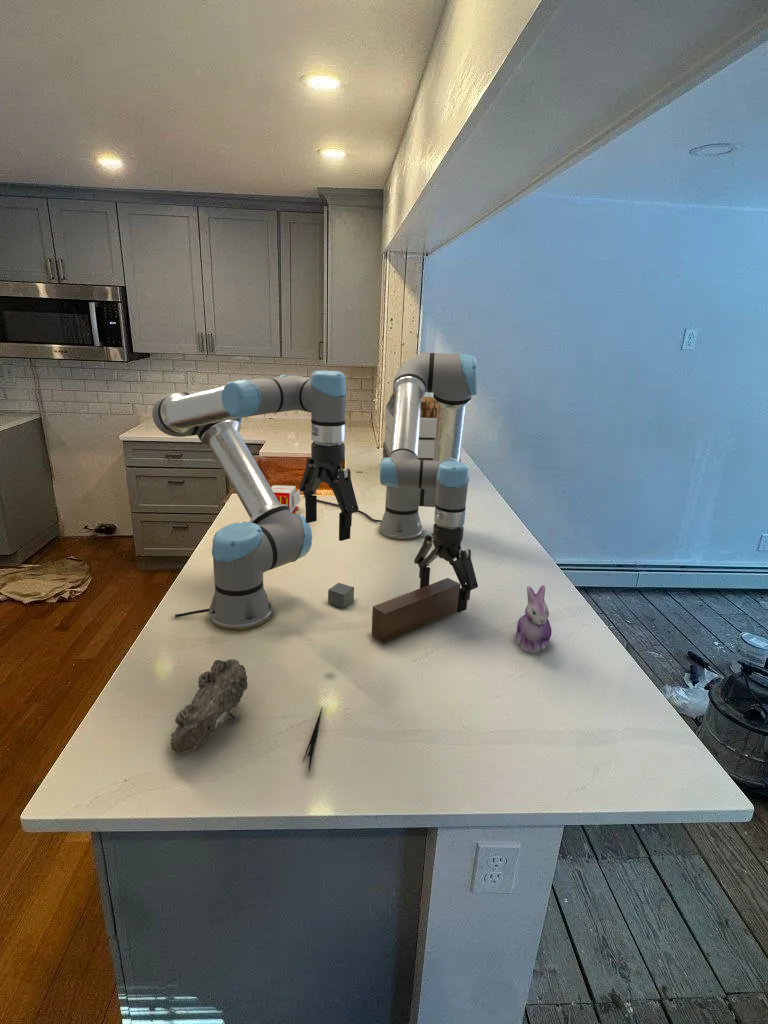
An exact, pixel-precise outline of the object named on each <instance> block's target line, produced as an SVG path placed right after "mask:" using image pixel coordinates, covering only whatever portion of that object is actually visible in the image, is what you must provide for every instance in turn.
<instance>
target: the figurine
mask: <svg viewBox="0 0 768 1024" xmlns="http://www.w3.org/2000/svg"><path fill="white" fill-rule="evenodd" d="M526 594H527V604H526V606H525V610H524V614H523V615H522V616H521V617H520V618H518V621H517V623H516V624H517V625H516V632H515V634H516V635H515V641H516V643H517V645H519V646H520V648H521V650H522V651H524V652H526V653H531V654H533V653H534V654H537V653H539V652H540V651H545V650H546V649H547V648H548V646H549V644H550V639H551V637H552V626H551V623H550V620H549V617H550V611H549V607H548V605H547V603H546V600H545V597H546V596H545V595H546V586H545V585H544V584H542V585H540V586H539V588H538V591H537V592H536V593H535V591H534V589H533V588H532V587H531V586H530V585H528V586H527V587H526Z"/></svg>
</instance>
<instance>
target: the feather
mask: <svg viewBox="0 0 768 1024" xmlns="http://www.w3.org/2000/svg"><path fill="white" fill-rule="evenodd" d="M329 675H330V676H331V675H332V674H331V673H330V674H329ZM322 710H323V707H321V708H320V710H319V713H318V716H317V719H316V723H315V725H314V728H313V731H312V733H311V737H310V739H309V742H308V745H307V748H306V751H305V754H304V757H303V760H302V763H301V767H302V765H303V763H304V761H305V758H308V759H309V760H308V762H307V763H308V764H307V766H308V771H310V770H311V766H312V765H311V764H312V760H313V757H315V756H314V755H315V751H316V749H315V746H317V739H318V733H319V729H320V722H321V717H322V712H323V711H322ZM313 754H314V755H313ZM306 755H307V757H306Z"/></svg>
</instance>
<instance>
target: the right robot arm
mask: <svg viewBox="0 0 768 1024" xmlns="http://www.w3.org/2000/svg"><path fill="white" fill-rule="evenodd" d="M477 368H478V367H477V359H476V358H475V356H474V355H472V354H464V353H463V354H462V353H444V352H443V353H442V352H430V351H429V352H427V351H425V352H419V353H417V354H414V355H413V356H412V357H409V358H408V359H407V360H406V361H405V362H403V364H402V365H401V366H400V367H399V369H398V370H397V372H396V374H395V376H394V378H393V385H392V393H393V392H394V394H395V396H396V398H395V407H394V417H393V427H392V436H391V446H390V455H389V457H388V458H383V457H382V458H381V460H380V464H379V465H380V467H379V482H380V484H381V486H384V487H386V488H385V489H386V490H385V504H384V505H385V507H384V508H385V509H384V513H383V515H382V519H375V518H372V517H371V516H370V515H368V514H367V513H366V512H364V511H363V510H359V511H358V512H357V513H359V514H361V515H363V516H364V517H366V518H367V519H368V520H370V521H371V522H375V523H379V526H378V533H379V534H380V535H381V536H382V537H385V538H387V539H389V540H395V541H410V540H415V539H418V538H420V537H421V536H422V535H423V525H422V523H421V522H422V521H421V518H420V515H419V507H425V508H434V517H433V522H434V524H433V529H432V533H429V534H426V535H425V536H424V539H423V543H422V545H421V546H420V548H419V550H418V552H417V554H416V556H415V558H414V560H413V562H414V564H415V565H418V568H419V573H418V579H420V580H419V589H420V588H422V587H425V586H428V585H430V575H431V567H430V565H431V564H432V562H433V561H435V560H436V559H437V558H439V559H443V560H444V561H446V562H448V563H449V565H450V566H452V569H453V571H454V573H455V575H456V577H457V580H458V583H459V584H460V588H459V596H458V607H457V611H456V612H457V613H458V614H460V613H463V612H464V611H467V607H468V601H470V599H471V591H473V590H475V589H477V588H479V584H478V581H477V576H476V572H475V569H474V564H473V561H472V551H471V549H470V548H467V549H464V548H462V545H461V544H462V541H463V539H464V531H465V530H464V529H465V526H464V525H465V521H466V508H467V506H466V505H467V497H468V488H469V482H470V467H469V465H468V464H466V463H464V462H462V461H461V462H459V457H460V458H461V454H460V448H461V449H462V443H461V441H462V438H463V432H462V431H464V421H465V413H466V405H468V404H469V403H470V402H471V401H472V396H476V395H477V394H478V369H477ZM426 393H428V394H429V393H432V394H433V396H432V397H434V400H435V401H436V402H437V403H438V407H437V419H436V431H435V443H434V455H433V461H432V460H417V457H418V442H419V428H420V413H421V399H422V397H425V394H426ZM303 498H305V496H304V495H303ZM317 503H321V504H326V505H331V506H336V507H339V504H338V503H335V502H330V501H325V500H320V499H317ZM345 509H346V507H345ZM432 547H434V549H432V550H431V548H432ZM429 551H431V552H430V553H429Z"/></svg>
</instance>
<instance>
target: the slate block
mask: <svg viewBox="0 0 768 1024" xmlns="http://www.w3.org/2000/svg"><path fill="white" fill-rule="evenodd" d="M354 600H355V587H354V586H352V585H351V586H350V585H348V584H345V583H341V582H338V583H335V585H333V586H331V587H330V588H328V589H327V603H328V604H330V605H333V606H336V607H339V608H341V609H345V608H346V607H347V606H349V605H350V604H352V602H353V601H354Z"/></svg>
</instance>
